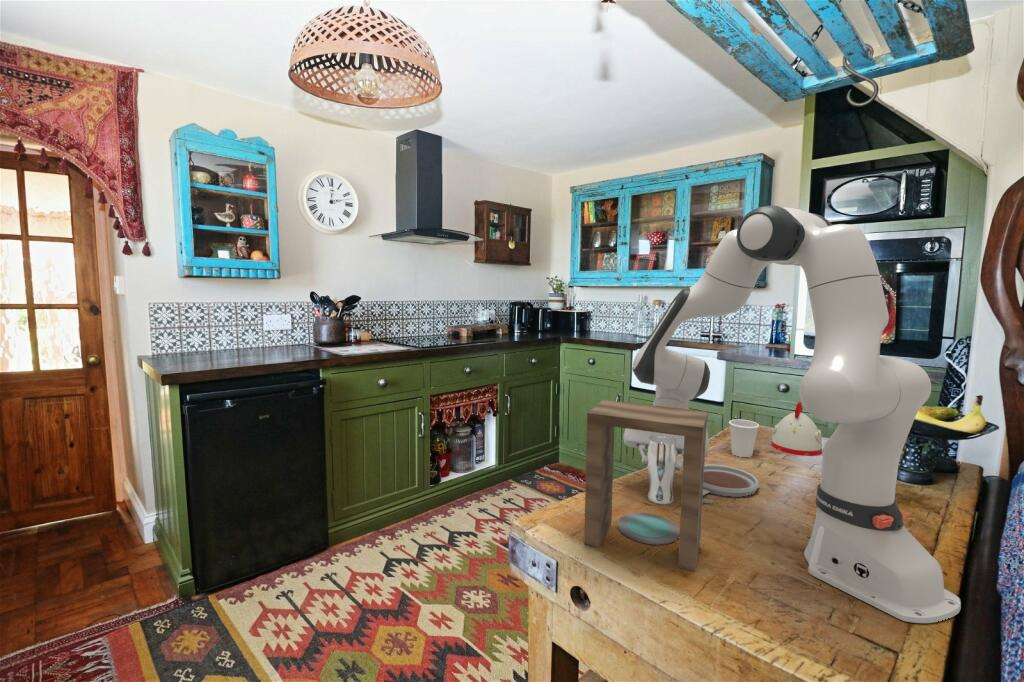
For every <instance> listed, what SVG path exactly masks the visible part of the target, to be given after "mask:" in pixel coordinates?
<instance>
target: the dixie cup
mask: <svg viewBox="0 0 1024 682" xmlns="http://www.w3.org/2000/svg"><path fill="white" fill-rule="evenodd" d="M728 424H729V432H730V446H731V447H730V449H731V454H732V456H734V455H736V456H735V457H737V456H739V457H738V458H742V457H750V458H752V457H753V453H754V448H755V444H756V440H757V439H756V438H757V434H758V430H759V427H760V425H759V423H757V422H755V421H753V420H748V419H742V418H741V419H739V418H738V419H735V418H734V419H731V420H729V421H728ZM751 456H752V457H751Z"/></svg>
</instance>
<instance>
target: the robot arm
mask: <svg viewBox="0 0 1024 682" xmlns="http://www.w3.org/2000/svg"><path fill="white" fill-rule="evenodd" d="M772 264H777V265H783V266H800V267H801V269H802V270H803V273H804V277H805V281H806V285H807V286H806V287H807V290H808V291H807V292H808V295H809V300H810V301H809V302H810V306H811V311H812V316H813V323H814V336H815V337H814V346H813V347H814V348H813V353H812V354H813V355H812V358H811V359H812V360H811V363H810V366H809V369H808V370H807V371H806V373H804V375H803V377H802V379H801V381H800V384H799V398H800V402H801V403H802V404H801V405H802V407H804V409H805V410H806V411H807V413H809V414H810V415H811V416H812V417H814V418H815V419H817V420H820V421H822V422H827V423H835V424H838V425H837V427H836V429H835V430H834V432H833V433H832V435H831V436H830V437H829V438H828V439H827V440H826V441H825V444H824V445H823V447H822V461H821V471H820V480H819V481H820V482H819V484H818V485H817V487H816V488H817V489H816V496H815V504H816V514H815V520H814V523H813V529H812V530H811V535H810V538H809V540H808V543H807V546H806V547H805V549H804V551H803V556H804V558H805V560H806V561H807V564H808V566H807V571H808V572H807V573H809V574H810V575H811V576H812V577H814V578H816V579H819V580H820V581H823V582H824V583H827V584H829V585H830V586H833V587H834V588H837V589H838V590H841V591H843V592H844V593H847V594H849V595H850V596H852V597H854V598H856V599H859V600H860V601H863V602H864V603H867V604H869V605H871V606H873V607H874V608H876V609H878V610H880V611H881V612H884V613H887V614H888V615H890V616H892V617H894V618H896V619H898V620H900V621H903V622H907V623H915V624H933V623H934V624H935V623H938V621H939V622H942V620H943V621H946V620H949V619H951V618H953V617H955V616H956V615H958V614H959V613H960V612H961V608H962V606H961V605H962V602H961V598H960V597H959V596H957V595H956V594H954V593H953V592H951V591H950V590H947V589H946V588H945V584H944V576H943V570H942V567H941V564H940V563H939V561H937V559H936V558H935V557H933V555H931V554H930V552H929V551H928V550H927V549H926V548H925V547H924V546H923V545H922V544H921V543H920V542H919V541H918V539H916V538H915V536H914V535H912V533H910V531H909V530H908V529H907V528H906V527H905V525H904V524H905V523H904V520H907V519H909V518H911V516H909V515H911V513H912V512H911V511H905V512H901V510H900V508H899V505H898V503H897V500H896V499H895V496H896V486H897V480H898V479H897V478H898V472H899V465H900V464H899V463H900V460H901V456H902V452H903V449H904V446H905V445H906V442H907V439H908V436H909V434H910V431H911V429H912V427H913V423H914V421H915V418H916V417H917V415H918V413H919V411H920V410H921V408H922V407H923V406H924V404H925V403H926V402H928V400H929V398H930V396H931V393H932V382H931V379H930V377H929V375H928V373H927V371H926V370H924V369H923V368H922V367H921V366H920V365H919V364H917V363H915V362H912V361H909V360H906V359H902V358H898V357H893V356H881V353H880V352H881V342H882V336H883V332H884V330H885V328H886V327H887V326H888V323H889V321H890V320H889V319H890V315H889V309H888V306H887V305H888V304H887V300H886V297H885V292H884V289H883V287H884V286H883V283H882V278H881V274H880V270H879V267H878V264H877V260H876V258H875V255H874V253H873V250H872V247H871V245H870V242H869V241H868V239H867V237H866V234H865V233H864V231H862V229H861V228H859V227H858V226H855V225H853V224H846V223H838V224H832V223H831V221H830V220H828V219H827V218H825V217H824V216H823V215H820V214H817V213H811V212H808V211H806V210H805V211H804V210H802V209H799V208H795V207H794V208H793V207H785V206H779V205H764V206H759V207H756V208H754V209H752V210H751V211H749V212H748V213H746V215H744V216H743V218H742V219H741V220H740V222H739V224H738V227H737V228H736V229H732V230H730V231H729V232H727V233H726V234H725V235H724V236H723V237H722V239H721V240H720V242H719V243H718V245H717V246H716V248H715V250H714V251H713V253H712V255H711V257H710V259H709V261H708V262H707V265H706V268H705V270H704V272H703V273H702V275H701V277H700V278H699V279H698V280H697V281H696V282H695V283H694V284H693V285H692V286H689V287H686V288H683V289H681V290H680V291H679V292H678V293H677V295H676V296H675V297H674V298H673V300H672V302H671V303H669V306H668V307H667V309H666V310H665V312H664V313H663V315H662V316H661V318H660V320H659V321H658V323H656V326H655V327H654V329H653V331H652V332H651V334H650V335H649V337H648V338H647V340H646V341H645V342H644V343H643V344H642V346H641V347H640V349H639V350H638V351H637V352H636V355H635V356H634V359H633V362H632V372H633V374H634V376H635V377H636V379H637V380H638V381H639V382H640V383H641V384H646V385H651V386H653V385H654V386H655V398H654V400H653V402H652V403H653V404H652V405H654V406H663V407H673V408H682V409H691V408H689V402H690V401H692V400H695V399H697V398H699V397H700V396H702V395H704V394H705V393H706V391H707V390H708V388H709V383H710V379H711V378H710V377H711V370H710V368H709V365H708V363H707V362H706V360H703V359H701V358H699V357H696V356H693V355H690V354H685V353H681V352H679V351H676V350H672V349H668V348H666V346H667V344H668V343H669V342H670V340H671V338H672V336H673V335H674V334H675V332H676V331H677V329H678V328H679V326H680V325H682V323H683V322H686V321H688V320H691V319H696V318H697V319H698V318H706V317H708V318H709V317H710V318H712V317H713V318H714V317H723V316H728V315H730V314H732V313H735V312H737V311H738V310H740V309H742V307H743V306H744V305H745V304H746V303H747V301H748V300H749V298H750V296H751V293H752V292H753V291H754V288H755V286H756V284H757V281H758V279H759V277H760V275H761V273H762V271H764V269H765V268H766V267H767V266H770V265H772ZM691 410H693V409H691ZM624 429H625V430H624V432H623V442H624V444H625V445H626V447H627V448H637V449H638V450H639V453H640V456H641V465H644V466H648V463H647V455H645V454H646V452H647V450H648V442H649V437H650V436H654V435H664V436H669V437H673V438H675V439H676V440H677V455H682V457H681V458H680V460H677V463H676V466H675V468H676V471H681V472H683V455H684V436H680V435H672V434H665V433H657V432H650V431H642V430H635V429H627V428H624ZM654 442H658V443H665V444H669V443H673V442H672V441H671V440H670V439H668V438H665V437H661V438H658V439H656V440H654ZM709 450H710V441H709V431H708V428H707V427H706V444H705V458H707V457H708V456H709V452H710V451H709ZM948 618H949V619H948ZM945 619H946V620H945Z"/></svg>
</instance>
